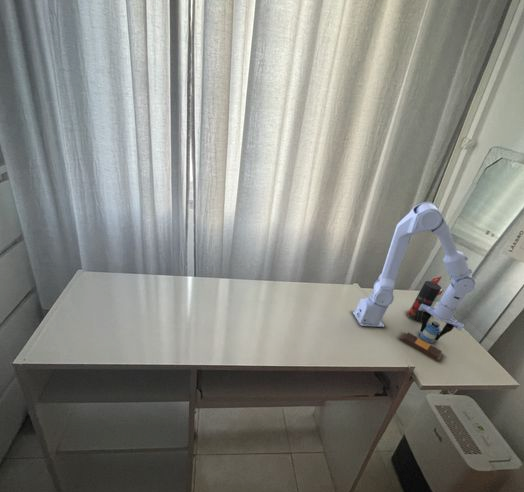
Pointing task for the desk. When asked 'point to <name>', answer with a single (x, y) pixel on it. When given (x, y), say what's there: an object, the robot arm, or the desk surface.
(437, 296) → the ink box
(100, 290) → the desk surface
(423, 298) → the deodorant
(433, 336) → the bottle
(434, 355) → the snack bar
